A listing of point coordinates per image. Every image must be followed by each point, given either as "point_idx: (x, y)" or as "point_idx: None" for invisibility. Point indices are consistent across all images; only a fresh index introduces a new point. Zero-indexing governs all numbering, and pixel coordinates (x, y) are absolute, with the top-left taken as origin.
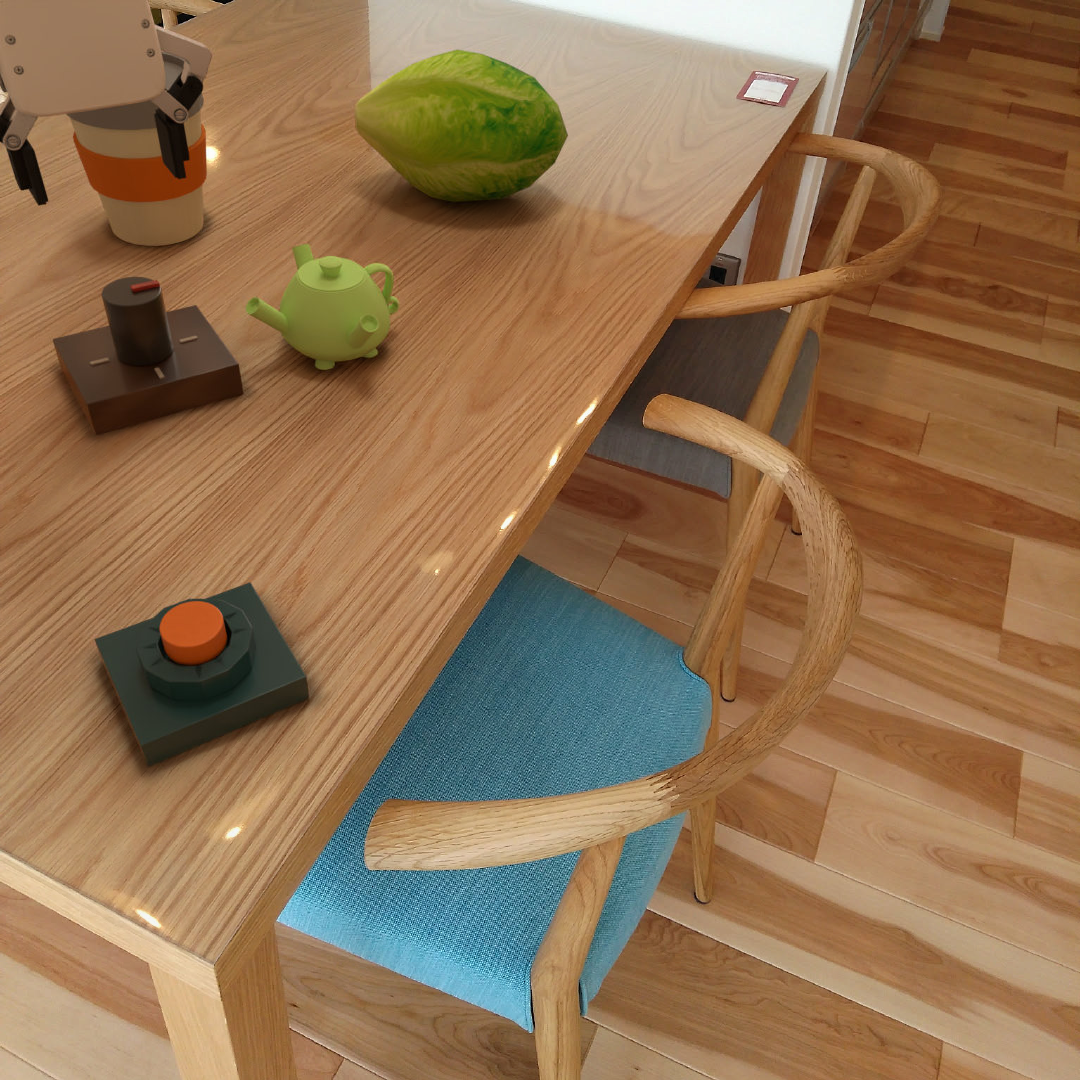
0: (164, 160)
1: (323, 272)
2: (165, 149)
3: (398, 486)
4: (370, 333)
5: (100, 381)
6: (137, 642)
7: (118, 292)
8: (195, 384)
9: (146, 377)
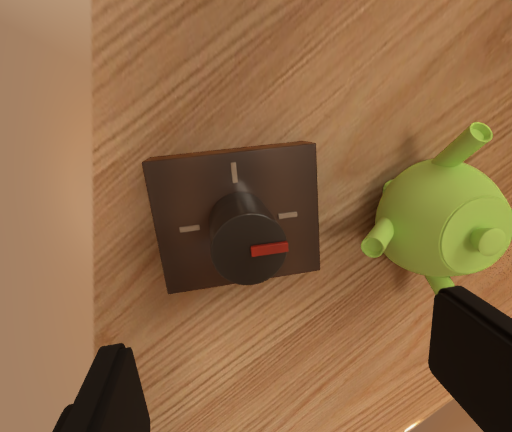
0: (442, 310)
1: (472, 240)
2: (472, 367)
3: (368, 386)
4: None
5: (185, 261)
6: None
7: (233, 251)
8: None
9: None
